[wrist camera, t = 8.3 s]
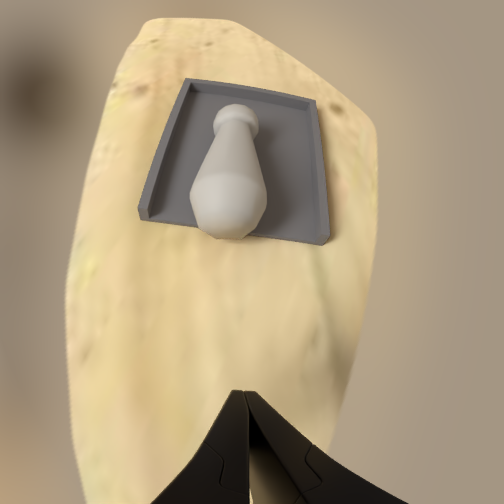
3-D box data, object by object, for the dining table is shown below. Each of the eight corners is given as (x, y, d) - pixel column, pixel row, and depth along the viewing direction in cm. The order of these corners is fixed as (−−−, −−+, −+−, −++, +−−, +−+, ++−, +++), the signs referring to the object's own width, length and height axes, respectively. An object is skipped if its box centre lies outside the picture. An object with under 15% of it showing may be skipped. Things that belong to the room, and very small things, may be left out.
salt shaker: (241, 186, 18) (248, 84, 25) (168, 213, 21) (196, 108, 27) (280, 235, 23) (275, 128, 29) (215, 252, 25) (227, 147, 32)
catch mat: (322, 245, 26) (330, 235, 25) (140, 219, 24) (137, 208, 23) (311, 111, 35) (315, 100, 33) (184, 89, 33) (185, 78, 31)
